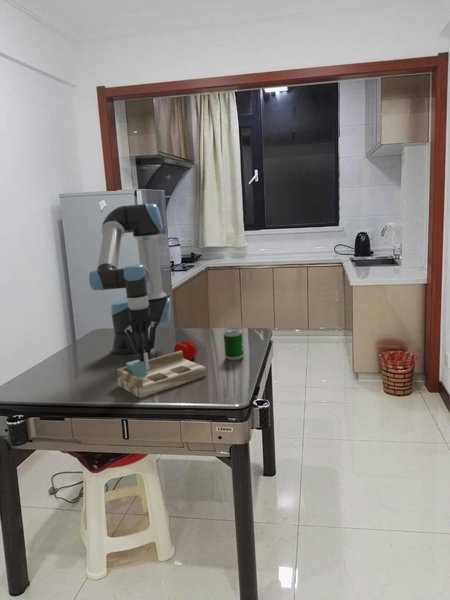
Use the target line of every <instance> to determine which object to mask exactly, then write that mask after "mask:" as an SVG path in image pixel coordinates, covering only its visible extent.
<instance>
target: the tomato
mask: <svg viewBox="0 0 450 600" xmlns="http://www.w3.org/2000/svg"><path fill="white" fill-rule="evenodd" d="M173 350H174V352H177V351H183V358H184V359H186V360H189V361H192V360H193V359H194V357H195V356H196V354H197V346H196V344H195V343H194V342H193V340H192V341H191V340H187V339H186V340H185V339H184V340H181V341H180V342H177V343H176V344H175V345H174V349H173ZM174 352H173V353H174Z"/></svg>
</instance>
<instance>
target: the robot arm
mask: <svg viewBox="0 0 450 600" xmlns="http://www.w3.org/2000/svg"><path fill="white" fill-rule="evenodd" d="M163 227H164V226H163V220H162V216H161V212H160V209H159V207H158V205H157V204H156V203H142V204H132V205H121V206H118V207H116V208H114V209H113V210H112V211H110V212H109V213H108V214H107V215H106V217H105V218H104V220H103V222H102V225H101V233H102V240H101V246H100V251H99V256H98V263H97V268H96V269H95V270H91V271H90V272H89V276H88V277H89V278H88V279H89V280H88V281H89V285H90V288H91V290H93V291H106V290H116V289H117V290H118V289H125V293H126V294H125V295H126V298H123V299H120V300H117V301H114V302H113V303H112V304H111V319H112V326H113V332H114V336H113V340H112V345H111V347H112V348H111V349H112V353H113V354H116V355H132V354H138V358H139V359H138V360H140V361H142V362H144V365H145V370H148V369H150V368H149V360H150V359H151V353H150V352H151V351H152V350H153V349H155V342H156V341H155V340H156V333H157V332H156V331H157V328H158V326H161V325H167V324H169V323H170V320H171V307H172V305H171V304H172V303H171V298H169V297H168V296H167V293H166V292H164V290H163V289H164V288H163V283H162V282H163V280H162V273H161V272H162V271H161V262H160V253H159V246H158V245H159V244H158V238H159V236H160V235H161V231H162V230H163ZM126 233H127V234H128V233H132V235H133V236H132V237H133V238H135V239H136V241H137V247H138V256H139V257H138V258H139V263H140V264H139V263H138V264H136V263H135V264H129V265H126V266H124V267H123V268H118V265H119V259H120V252H121V251H120V250H121V243H122V238H123V237H124V235H125V234H126Z"/></svg>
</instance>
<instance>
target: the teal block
mask: <svg viewBox="0 0 450 600" xmlns="http://www.w3.org/2000/svg"><path fill="white" fill-rule="evenodd" d="M125 367H127V372H129V373H131V374H133V375H135V376H137V377H142V376H146V373H145V365H144V362H142V361H140V359H135V360H132V361H128V362H125Z"/></svg>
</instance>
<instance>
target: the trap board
mask: <svg viewBox="0 0 450 600" xmlns="http://www.w3.org/2000/svg"><path fill="white" fill-rule="evenodd" d="M149 368H150V369H148V370H145V373H146V376H142V377H137V376H135V375H133V374H131V373H129V372H127V367H126V366H122V367H119V368H117V369H116V374H117V375H116V376H117V383H118V386H119V387H120V388H122V389H124V390H125V391H128V392H129V393H130V392H131V393H130V394H132V395H134V396H136V397H138V398H139V399H142V398H144V397H148V396H151V395H154V394H157V393H160V392H163V391H166V390H169V389H172V388H174V387H175V388H176V387H178V386H180V385H183V384H186V382H187V383H190V382H192V381H196V380H198V379H202V378H204V377H206V376H207V370H206V368H207V367H206V366H204V365H202V364H199V363H196V362H194V361H192V360H186V359H184V358H183V351H177V352H171V353H168V354H164V355H161V356H158V357H153V358H150V360H149Z"/></svg>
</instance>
